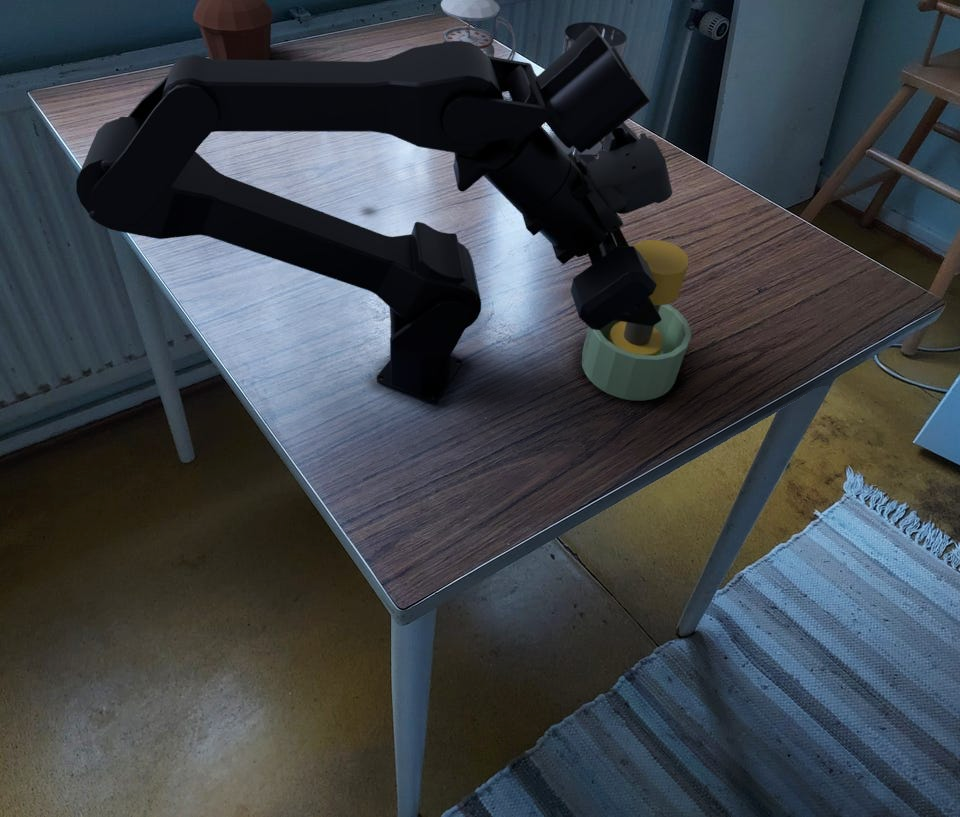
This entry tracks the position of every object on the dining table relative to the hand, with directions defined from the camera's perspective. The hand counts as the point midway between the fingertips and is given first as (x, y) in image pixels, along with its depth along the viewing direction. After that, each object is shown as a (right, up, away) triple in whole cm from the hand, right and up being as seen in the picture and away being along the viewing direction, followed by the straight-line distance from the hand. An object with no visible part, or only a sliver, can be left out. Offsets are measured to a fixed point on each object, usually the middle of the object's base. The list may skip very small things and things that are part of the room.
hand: (642, 289), depth 72 cm
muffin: (-52, +43, +49) cm, 84 cm away
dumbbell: (0, -6, +7) cm, 9 cm away
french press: (-16, +34, +45) cm, 59 cm away
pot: (0, -7, +7) cm, 10 cm away
